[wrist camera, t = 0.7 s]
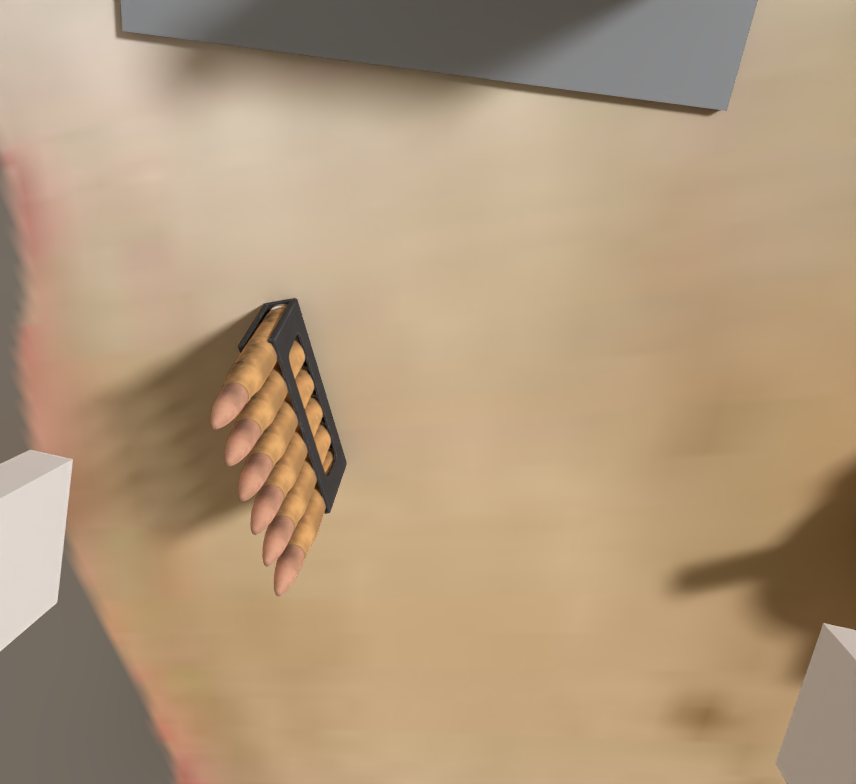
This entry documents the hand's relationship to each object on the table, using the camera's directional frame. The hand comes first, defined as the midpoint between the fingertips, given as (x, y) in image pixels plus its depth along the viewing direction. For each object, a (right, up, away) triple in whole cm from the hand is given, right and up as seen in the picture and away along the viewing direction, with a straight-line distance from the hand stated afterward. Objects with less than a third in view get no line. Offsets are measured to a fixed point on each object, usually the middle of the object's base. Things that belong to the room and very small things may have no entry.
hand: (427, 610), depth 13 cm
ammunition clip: (-7, +4, +30) cm, 31 cm away
